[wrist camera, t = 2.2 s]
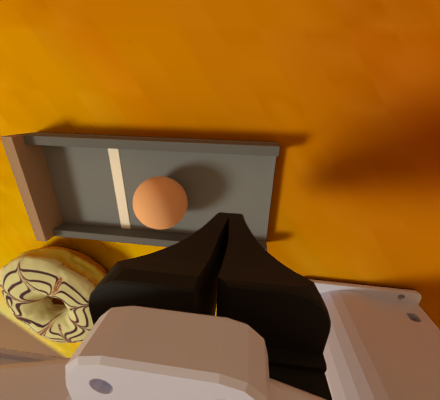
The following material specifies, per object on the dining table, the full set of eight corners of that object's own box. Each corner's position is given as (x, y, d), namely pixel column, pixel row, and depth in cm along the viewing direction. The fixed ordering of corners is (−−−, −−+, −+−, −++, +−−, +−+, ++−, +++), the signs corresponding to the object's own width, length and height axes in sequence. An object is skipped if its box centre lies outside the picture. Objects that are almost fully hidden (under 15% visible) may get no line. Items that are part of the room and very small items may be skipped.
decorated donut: (21, 289, 25) (-17, 319, 21) (37, 218, 20) (-7, 241, 17) (105, 332, 26) (82, 367, 22) (137, 273, 21) (115, 305, 18)
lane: (276, 142, 15) (281, 148, 13) (264, 242, 18) (266, 263, 16) (35, 132, 17) (0, 136, 15) (62, 224, 20) (36, 240, 18)
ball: (192, 171, 16) (177, 188, 13) (193, 216, 17) (180, 242, 14) (144, 168, 16) (117, 184, 13) (149, 212, 18) (125, 237, 14)
